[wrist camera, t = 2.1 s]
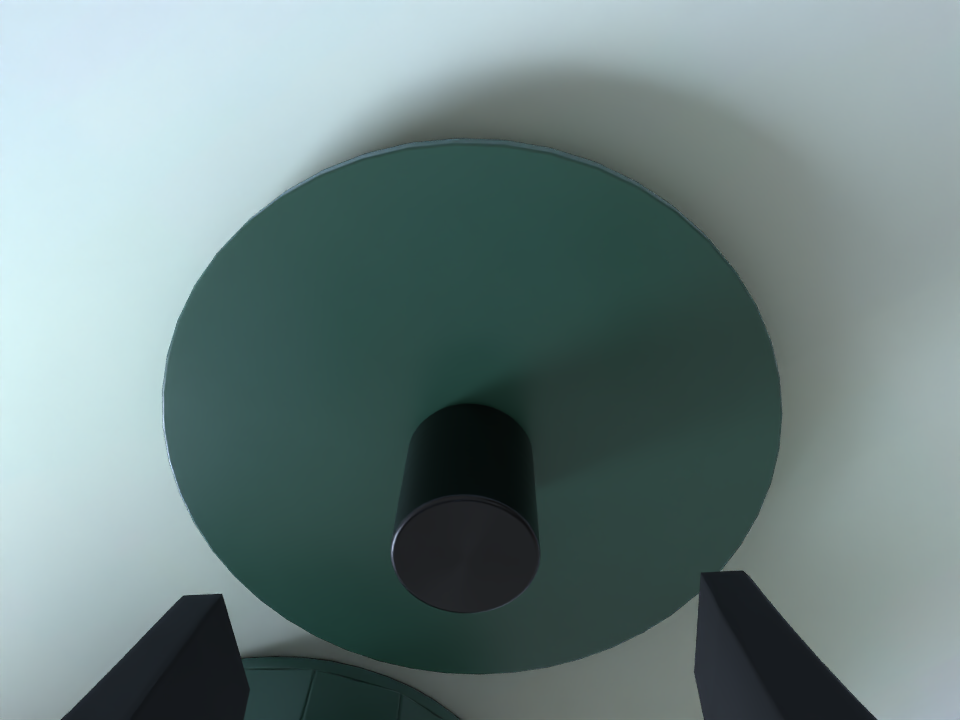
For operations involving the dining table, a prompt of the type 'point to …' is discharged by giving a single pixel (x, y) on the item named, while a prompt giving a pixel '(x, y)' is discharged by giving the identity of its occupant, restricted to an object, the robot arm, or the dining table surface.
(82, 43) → the dining table surface
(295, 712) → the pot
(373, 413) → the lid
